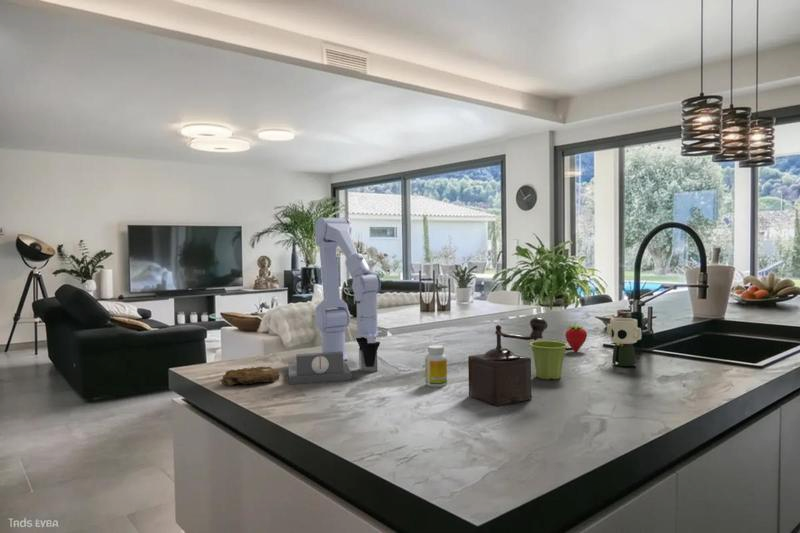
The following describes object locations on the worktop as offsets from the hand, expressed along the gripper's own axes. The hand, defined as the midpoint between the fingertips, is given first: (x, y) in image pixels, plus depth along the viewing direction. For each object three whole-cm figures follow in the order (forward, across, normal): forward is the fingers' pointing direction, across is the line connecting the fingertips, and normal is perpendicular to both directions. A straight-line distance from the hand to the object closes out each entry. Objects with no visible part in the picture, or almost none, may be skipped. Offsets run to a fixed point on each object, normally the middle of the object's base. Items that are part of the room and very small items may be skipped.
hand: (368, 364), depth 154 cm
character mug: (+2, -16, -70) cm, 72 cm away
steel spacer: (+2, 0, 0) cm, 2 cm away
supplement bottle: (+2, -21, -14) cm, 25 cm away
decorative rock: (+2, -4, +32) cm, 32 cm away
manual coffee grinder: (+2, -36, -27) cm, 45 cm away
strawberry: (+2, +6, -68) cm, 68 cm away
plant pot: (+2, -22, -44) cm, 49 cm away
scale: (+2, -1, +14) cm, 14 cm away
